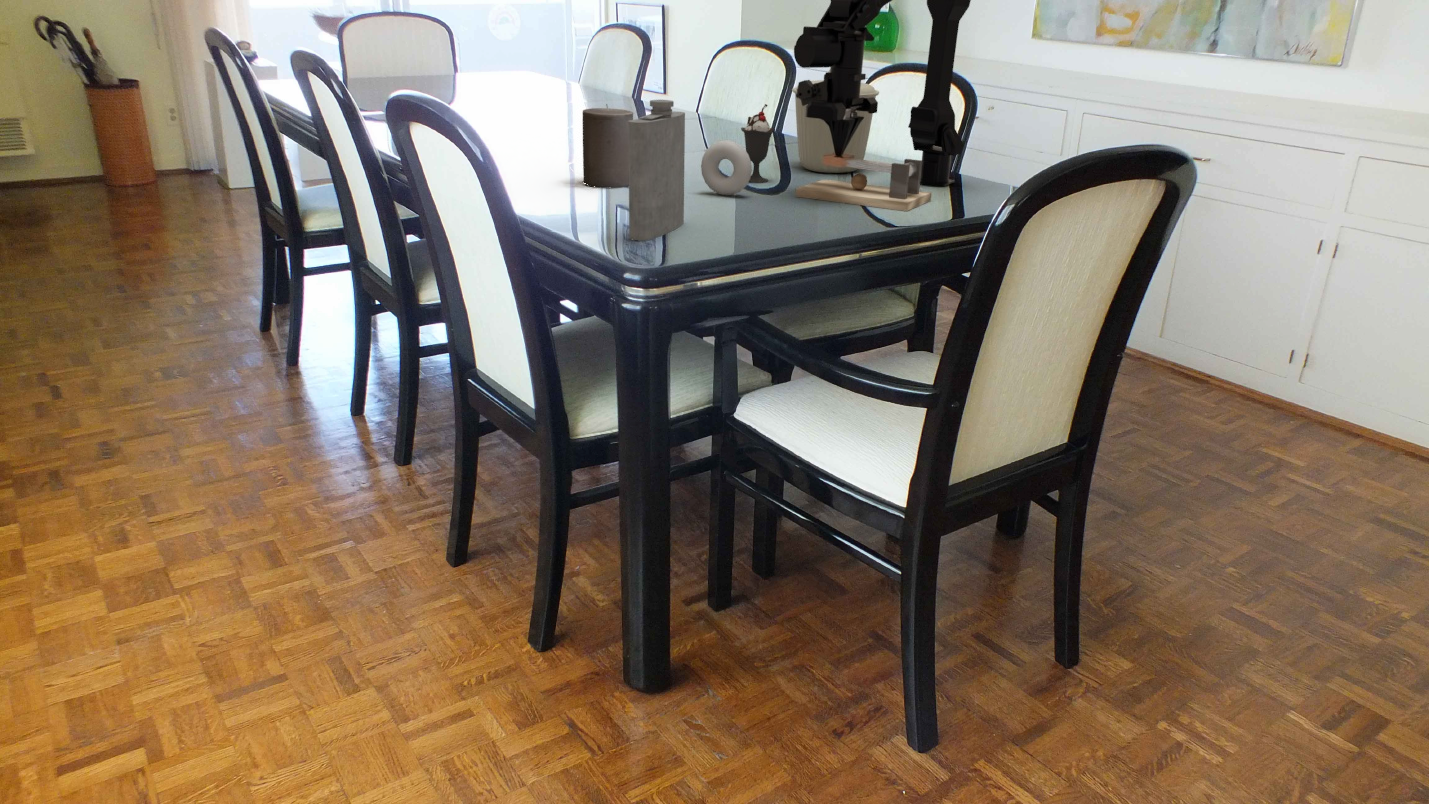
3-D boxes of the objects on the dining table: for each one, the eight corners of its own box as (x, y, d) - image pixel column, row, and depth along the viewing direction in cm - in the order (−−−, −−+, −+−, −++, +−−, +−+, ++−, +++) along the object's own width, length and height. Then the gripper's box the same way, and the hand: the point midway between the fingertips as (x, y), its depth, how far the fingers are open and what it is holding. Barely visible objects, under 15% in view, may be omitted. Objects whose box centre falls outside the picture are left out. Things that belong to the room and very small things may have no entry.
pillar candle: (573, 185, 198) (572, 104, 192) (597, 177, 207) (597, 99, 201) (619, 190, 195) (619, 108, 189) (641, 182, 203) (642, 103, 198)
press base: (823, 187, 202) (825, 148, 200) (930, 200, 192) (934, 159, 189) (795, 196, 193) (797, 155, 190) (906, 211, 182) (910, 168, 180)
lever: (833, 164, 196) (834, 151, 195) (916, 176, 188) (918, 162, 187) (822, 167, 192) (823, 154, 191) (906, 180, 184) (908, 166, 183)
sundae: (770, 184, 204) (773, 105, 198) (736, 182, 205) (739, 104, 199) (775, 178, 210) (778, 102, 204) (742, 177, 211) (745, 100, 205)
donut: (753, 196, 192) (755, 141, 188) (746, 199, 189) (748, 143, 185) (705, 191, 196) (706, 137, 192) (697, 194, 193) (698, 139, 189)
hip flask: (669, 220, 171) (670, 94, 164) (691, 222, 170) (693, 96, 162) (625, 239, 158) (624, 103, 150) (649, 242, 156) (649, 105, 149)
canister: (773, 165, 226) (777, 63, 218) (844, 161, 233) (851, 63, 225) (815, 179, 211) (821, 70, 203) (889, 174, 218) (898, 69, 210)
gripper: (828, 62, 197) (821, 145, 203) (782, 66, 183) (776, 155, 188) (882, 66, 192) (874, 151, 198) (839, 71, 177) (832, 163, 183)
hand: (838, 155), depth 192 cm, fingers closed, pressing on lever
